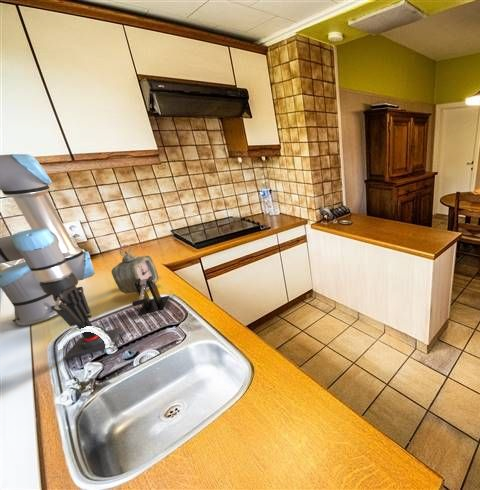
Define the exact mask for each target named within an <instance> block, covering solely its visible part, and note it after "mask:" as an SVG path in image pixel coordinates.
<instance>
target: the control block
mask: <svg viewBox="0 0 480 490" xmlns="http://www.w3.org/2000/svg"><path fill="white" fill-rule="evenodd" d="M122 331H123V329H122V327H117V328H114V329H110V330H106V331H105V332H106V333H107V334H108V335H109V336H110V338H111V340H112V341H113V342H114V343H115V342H116V341H117V339H118V338H119V336H120V334H121V333H122ZM84 339H85V338H84V336H82V337H79V338H78V339H77V340H76V342H75V343H74V344H73V345H72V347H71V348H70V349H69V350H68V351H67V353H66V354H65V355H64V357H63V358H64V360H65V361H68V360H70V359H75V358H78V357H81V356H85V355H88V354H92V353H96V352H99V351H103V350H106V349H105V344H104V341H103V340H102V339H101V338H100V337H97V338H96V339H94V340H92V341H89V342H85V340H84Z"/></svg>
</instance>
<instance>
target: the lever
mask: <svg viewBox="0 0 480 490" xmlns="http://www.w3.org/2000/svg"><path fill="white" fill-rule="evenodd" d="M146 281H147V279H143V280H141V282H140V286H141V287H142V289H141V293H140V295H139V297H138V300H133V301H132V302H131V305H132V307H135V306H140V305H144V303H149V299H148V298H146V299H144V295H145V290H146V288H147V287H148V285H147V282H146Z"/></svg>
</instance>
